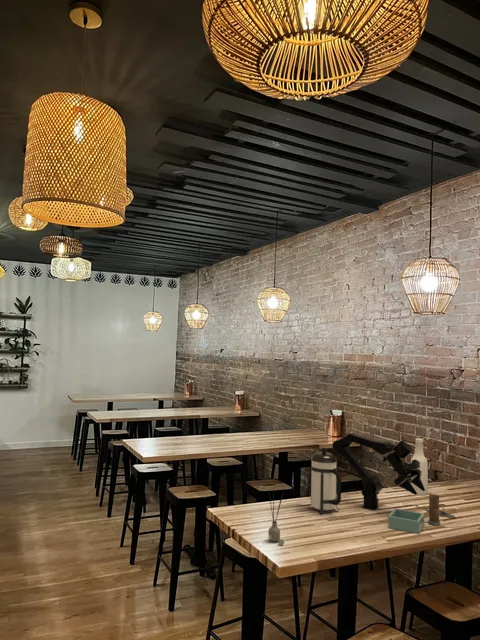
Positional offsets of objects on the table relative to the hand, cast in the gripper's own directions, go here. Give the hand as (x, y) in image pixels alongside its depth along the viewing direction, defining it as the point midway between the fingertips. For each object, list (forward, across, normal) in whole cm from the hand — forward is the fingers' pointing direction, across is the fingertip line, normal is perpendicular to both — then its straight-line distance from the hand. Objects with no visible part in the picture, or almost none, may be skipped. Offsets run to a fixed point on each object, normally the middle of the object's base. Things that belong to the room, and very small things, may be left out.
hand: (420, 492), depth 225 cm
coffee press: (-18, -22, +36) cm, 45 cm away
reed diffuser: (-12, -69, +30) cm, 76 cm away
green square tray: (+8, -13, +10) cm, 18 cm away
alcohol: (-5, +44, +23) cm, 50 cm away
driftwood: (+10, +18, +10) cm, 23 cm away
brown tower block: (+14, 0, +4) cm, 14 cm away
